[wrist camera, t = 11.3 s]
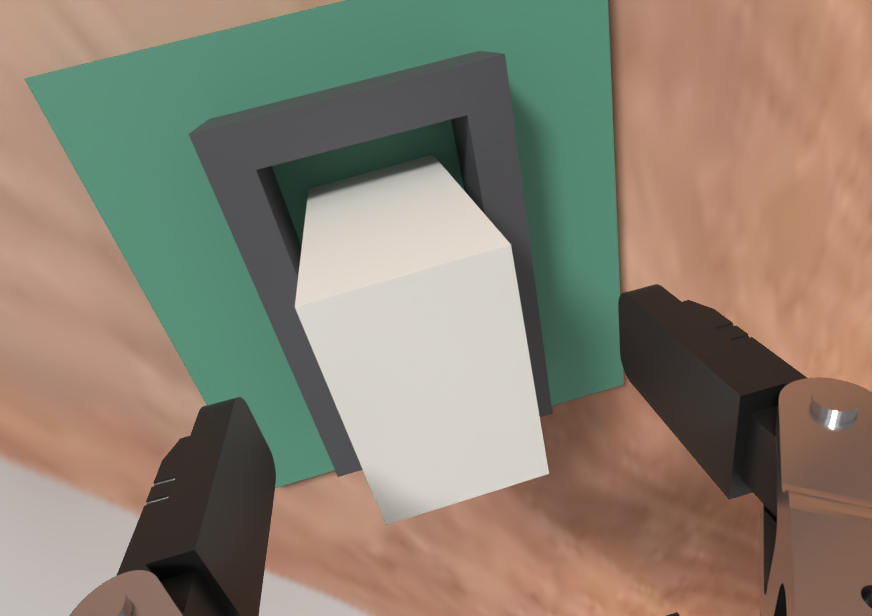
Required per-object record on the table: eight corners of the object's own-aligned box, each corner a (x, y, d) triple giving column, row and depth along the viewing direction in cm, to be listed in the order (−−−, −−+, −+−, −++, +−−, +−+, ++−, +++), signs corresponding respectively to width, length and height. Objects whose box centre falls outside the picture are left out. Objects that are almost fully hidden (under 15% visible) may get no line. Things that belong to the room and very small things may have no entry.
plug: (432, 154, 16) (511, 244, 9) (474, 336, 20) (553, 501, 13) (308, 188, 16) (294, 307, 9) (372, 366, 20) (397, 551, 13)
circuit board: (589, -58, 15) (655, -80, 12) (612, 371, 23) (656, 422, 20) (42, 75, 14) (-34, 87, 11) (259, 475, 22) (248, 545, 19)
